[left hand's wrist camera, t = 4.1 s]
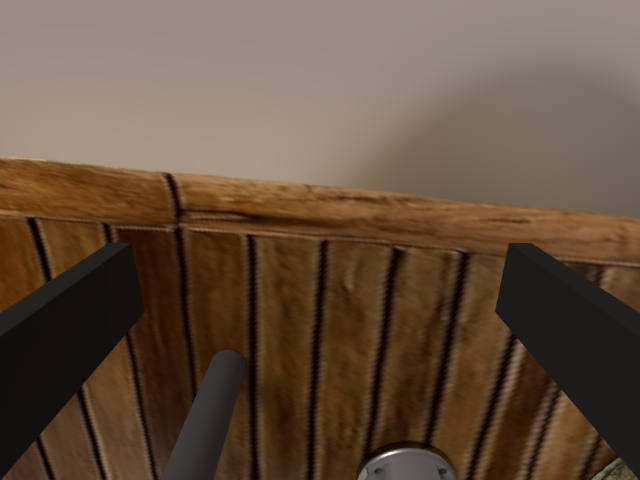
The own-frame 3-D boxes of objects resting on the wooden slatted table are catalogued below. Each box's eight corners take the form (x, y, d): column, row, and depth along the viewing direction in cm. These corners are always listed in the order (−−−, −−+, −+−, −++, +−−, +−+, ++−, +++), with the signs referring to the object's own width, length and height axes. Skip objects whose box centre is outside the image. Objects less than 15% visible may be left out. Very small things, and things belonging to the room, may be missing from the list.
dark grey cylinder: (243, 348, 47) (195, 502, 29) (247, 376, 49) (204, 538, 31) (209, 349, 48) (139, 503, 29) (214, 377, 49) (151, 539, 31)
